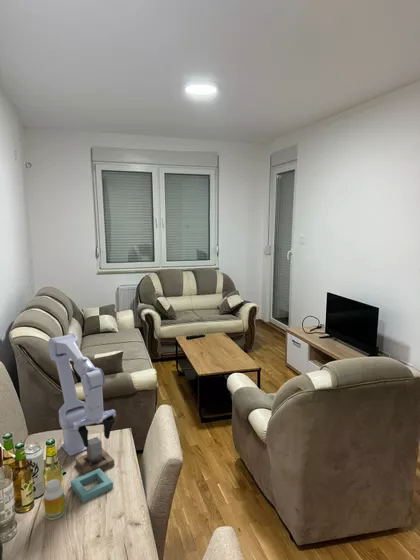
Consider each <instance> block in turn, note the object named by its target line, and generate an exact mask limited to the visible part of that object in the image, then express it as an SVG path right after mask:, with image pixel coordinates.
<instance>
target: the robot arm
mask: <svg viewBox="0 0 420 560" xmlns="http://www.w3.org/2000/svg"><path fill="white" fill-rule="evenodd" d="M47 349H48V353H49V357H50V361H55V362H54V363H55V364H56V369H57V373H58V377H59V378H58V379H59V382H60V383H59V384H60V387H61V391H62V397H63V402H64V403H63V404H62V405H61V406H60V408H59V409H58V421H59V425H60V428H61V429H62V437H63V441H62V442H63V443H62V444H61V447H62V449H63V450H64V451H65V452H66V453H67V455H68V456H70V457H71V456H74V455H76V454H79V453H82V452H84V451H87V448H86V447H88V440H89V438H88V437H89V430H88V428H87V427H88V426H90V425H93V424H100V423H103V435H104V438H105V439H107V440H109V439H110V434H111V431H112V428H113V425H114V423H115V417H116V416H117V414H116V413H117V411H116V410H115V409H113V408H112V409H108V410H104V398H103V386H104V385H105V384H106V383H105V382H106V377H105V374H104V371H103V369H102V368H98V367H95V365H94V364H93V363H92V361H91V360H90V359H89V358H88V357H87V356H84V355H83V353H82V352H81V351H80V348H79V338H78V337H77V335H76V334H75V333H71V334H66V335H60V336H57V337H50V338H49V339H48V341H47ZM70 360H71V361H72V362H73V369H74V370H75V371H76V373H77V374H78V376H79V377H80V382H81V386H82V392H83V394H84V400H85V401H83V400H80V399H79V398H78V394H77V390H76V384H75V381H74V377H73V371H72V366H71V363H70Z"/></svg>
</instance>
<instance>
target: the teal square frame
mask: <svg viewBox="0 0 420 560" xmlns="http://www.w3.org/2000/svg"><path fill="white" fill-rule="evenodd" d="M95 480H97V481H98V482H99V484H97V485H94V486H93V487H90V488H88V489H86V488H85V487H84V485H87V484H89V483H90V482H93V481H95ZM70 487H71V489H72V490H73V492H75V495H77V497H79V499H80V500H81V502H82V503H85V502H87V501H89V500H91V499H93V498H95V497H98V496H100V495H101V494H103V493H105V492H107V491H109V490H111V489H113V488H114V482H113V481H112V480H111V478H109V476H108V475H107V474H106V473H105V472H104V470H101V469H100V468H98V469H96V470H94V471H92V472H89V473H87V474H83V475H81V476H78V477H76V478H73V479H72V480H70Z"/></svg>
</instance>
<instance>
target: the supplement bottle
mask: <svg viewBox="0 0 420 560" xmlns="http://www.w3.org/2000/svg"><path fill="white" fill-rule="evenodd" d="M64 492H65V491H64V488H63V486H62V485H61V480H60V479H57V478H56V479H55V478H54V479H50V480H49V481H47V482H46V483H45V491H44V493H43V501H44V514H45V515H44V516H45V518H46V519H48V520H51V521H52V520H53V521H54V520H57V519H60V518H62V516H63V515H64V514H65V512H66V507H65V506H66V505H65V493H64Z"/></svg>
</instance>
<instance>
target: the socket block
mask: <svg viewBox="0 0 420 560" xmlns="http://www.w3.org/2000/svg"><path fill="white" fill-rule="evenodd" d="M102 457H103V461H102V462H100V463H97V464H95V465H93V466H89V465H88V463H87V453H86V454H85V455H82V456H79V457H77V458H75V464H76V466H77V467H78V468H79V469H80V471H81V472H83V475H85V474H87V473H89V472H92V471H94V470H96V469H98V468H100V469H101V470H102V471H104V470H107V469H108V468H111V467H113V466H115V459H114V458H113V457H112V456H111V455H110V454H109V453H108V452H107V451H106V450H105V449H104V448H102Z"/></svg>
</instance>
